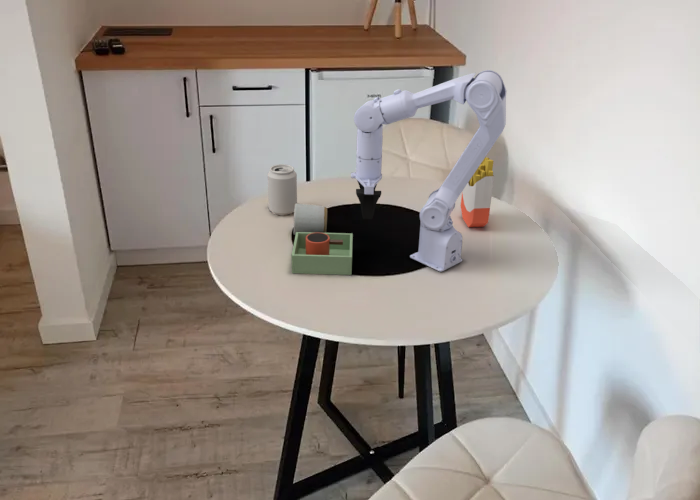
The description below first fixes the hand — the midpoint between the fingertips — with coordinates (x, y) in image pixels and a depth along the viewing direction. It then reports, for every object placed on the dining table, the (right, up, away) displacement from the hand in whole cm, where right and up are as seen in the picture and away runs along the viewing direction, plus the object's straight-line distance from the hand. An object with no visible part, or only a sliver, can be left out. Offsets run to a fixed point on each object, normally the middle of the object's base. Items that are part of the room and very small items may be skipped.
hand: (367, 211), depth 158 cm
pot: (-10, -11, -3) cm, 15 cm away
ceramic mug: (-14, -4, +11) cm, 19 cm away
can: (-22, +1, +22) cm, 31 cm away
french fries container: (+28, -2, +18) cm, 33 cm away
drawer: (-10, -12, -3) cm, 16 cm away
